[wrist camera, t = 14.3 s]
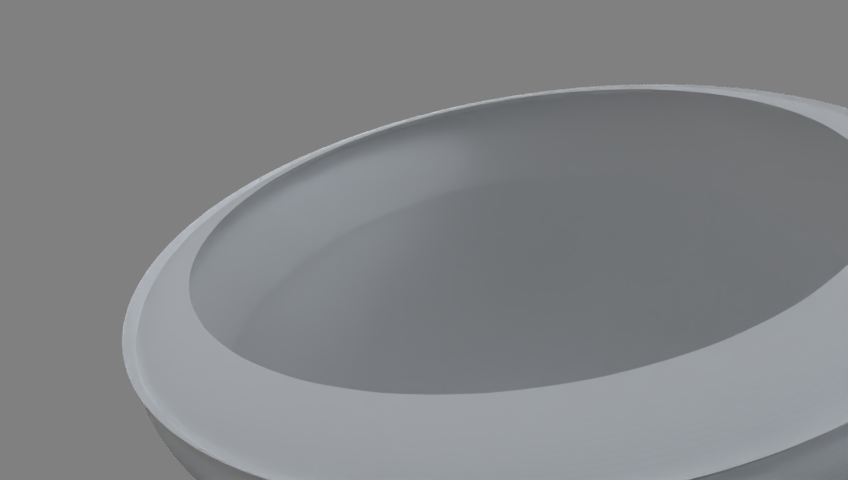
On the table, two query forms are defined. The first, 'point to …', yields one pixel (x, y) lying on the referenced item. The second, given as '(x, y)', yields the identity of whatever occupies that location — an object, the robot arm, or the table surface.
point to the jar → (519, 298)
